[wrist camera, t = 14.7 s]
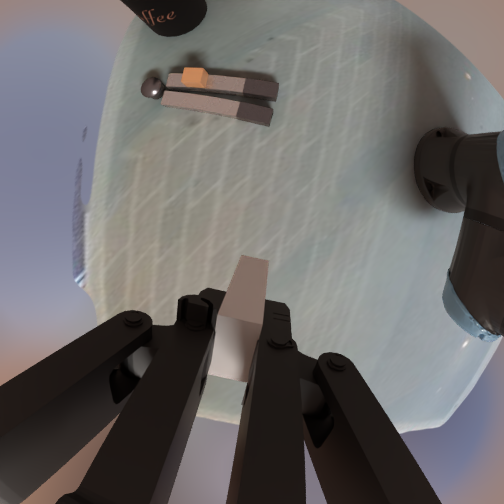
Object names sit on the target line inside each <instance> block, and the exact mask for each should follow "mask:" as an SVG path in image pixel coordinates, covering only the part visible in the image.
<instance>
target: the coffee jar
mask: <svg viewBox="0 0 504 504" xmlns="http://www.w3.org/2000/svg"><path fill="white" fill-rule="evenodd" d="M121 1H122V2H123V3H124V4H125V5H126V6H128V7H129V8H130V9H131V10H132V11H133V12H134V13H135V14H136V15H137V16H138V17H139V18H140V19H141V20H142V21H144V22H145V23H146V24H147V25H148V26H149V27H150V28H151V29H152V30H153V31H154V32H155V33H157V34H158V35H162V36H166V37H171V36H179V35H182V34H186V33H187V32H189V31H191V30H193V29H194V28H195V27H197V26H198V25H199V24H200V23H201V21H202V20H203V19H204V17H205V14H206V11H207V5H206V2H205V0H121Z"/></svg>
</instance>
